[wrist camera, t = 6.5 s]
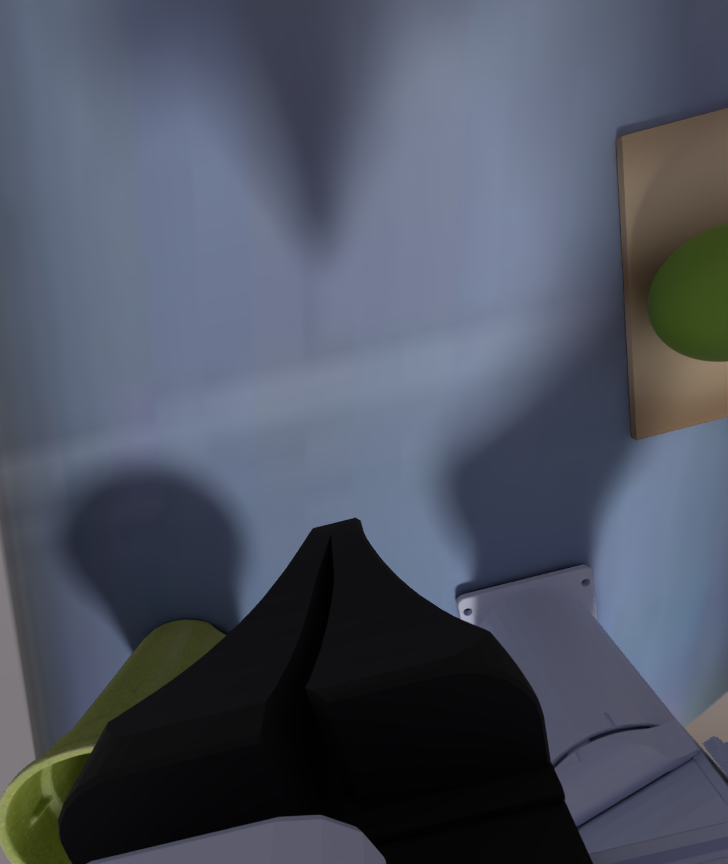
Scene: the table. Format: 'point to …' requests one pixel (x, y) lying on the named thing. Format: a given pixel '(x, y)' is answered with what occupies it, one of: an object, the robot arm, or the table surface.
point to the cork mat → (651, 246)
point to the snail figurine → (694, 297)
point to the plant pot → (91, 741)
